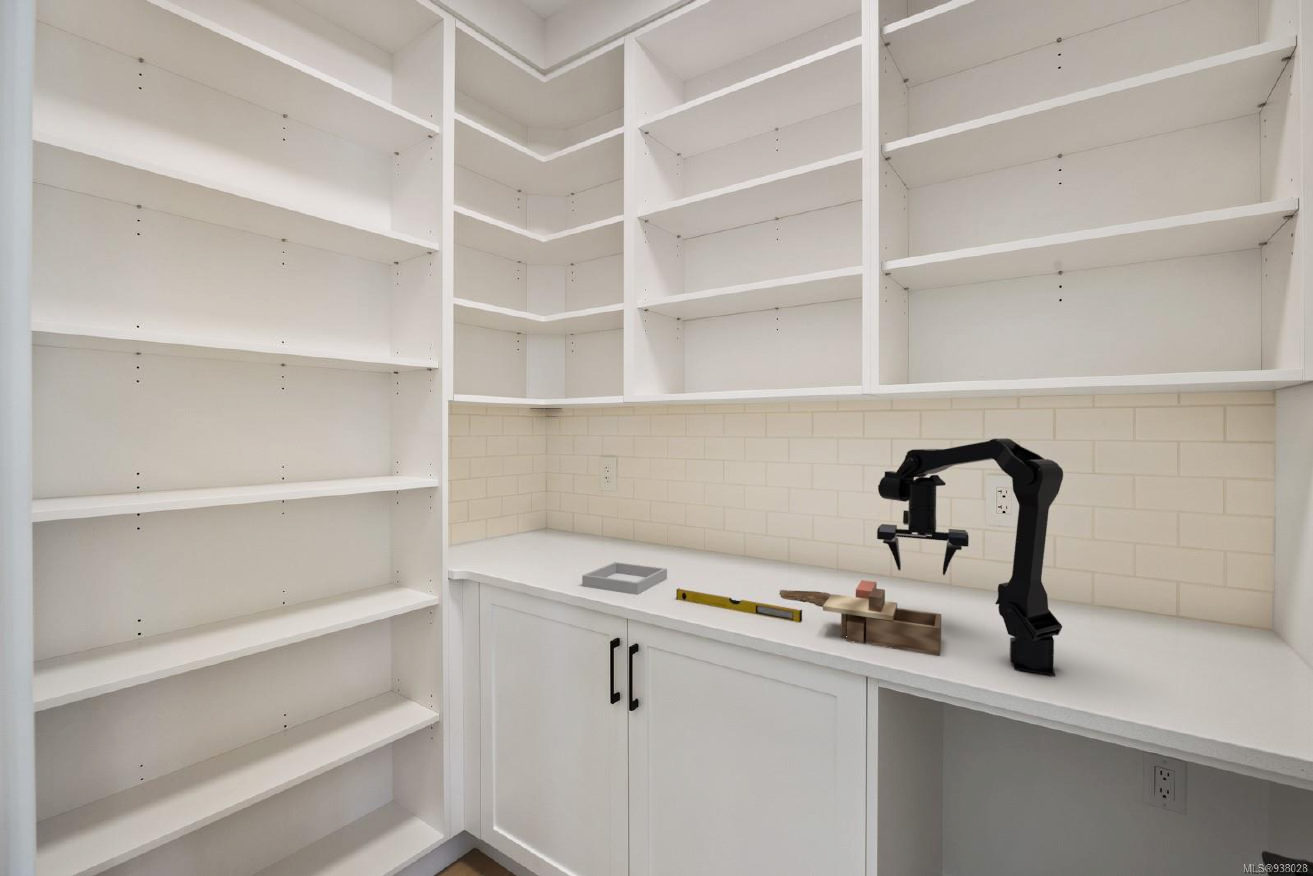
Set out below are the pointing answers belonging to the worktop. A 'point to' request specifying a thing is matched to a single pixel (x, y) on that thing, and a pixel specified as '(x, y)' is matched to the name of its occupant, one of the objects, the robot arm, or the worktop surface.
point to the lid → (862, 605)
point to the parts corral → (599, 581)
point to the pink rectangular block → (865, 589)
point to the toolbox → (896, 630)
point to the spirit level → (740, 605)
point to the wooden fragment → (806, 596)
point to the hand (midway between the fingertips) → (921, 572)
